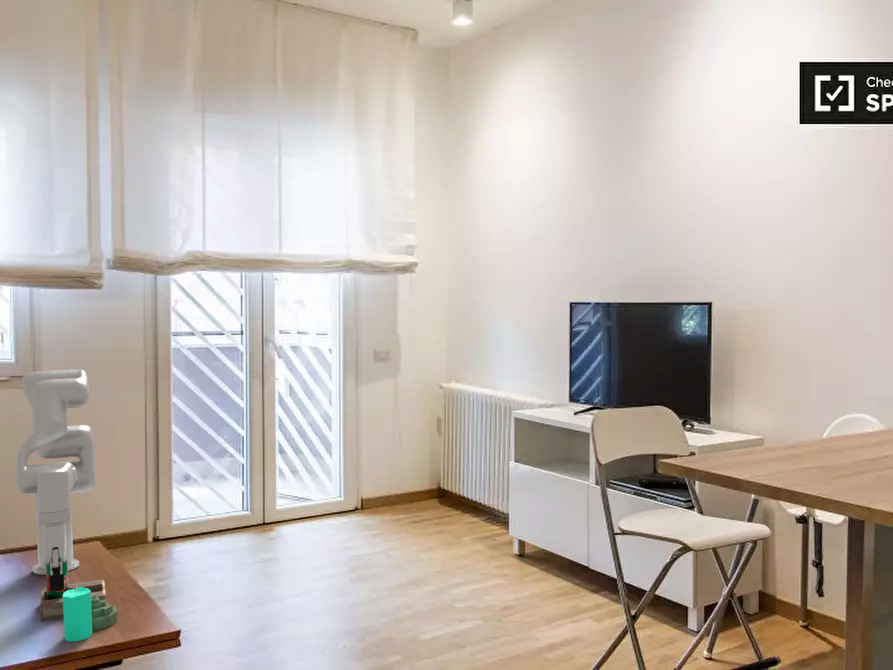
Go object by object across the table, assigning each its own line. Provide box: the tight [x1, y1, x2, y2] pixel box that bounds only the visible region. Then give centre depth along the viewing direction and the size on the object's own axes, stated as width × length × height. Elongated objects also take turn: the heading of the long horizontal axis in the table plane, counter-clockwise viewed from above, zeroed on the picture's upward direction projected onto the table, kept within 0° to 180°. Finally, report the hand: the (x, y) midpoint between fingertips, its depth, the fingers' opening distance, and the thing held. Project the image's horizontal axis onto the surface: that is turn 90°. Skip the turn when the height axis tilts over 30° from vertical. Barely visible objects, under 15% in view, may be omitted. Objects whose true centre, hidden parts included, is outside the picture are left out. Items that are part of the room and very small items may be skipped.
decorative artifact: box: [91, 595, 119, 631], centre depth 198 cm, size 10×7×10 cm
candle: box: [63, 586, 93, 642], centre depth 190 cm, size 6×6×12 cm
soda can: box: [45, 556, 70, 600], centre depth 208 cm, size 5×5×12 cm
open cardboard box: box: [39, 579, 107, 622], centre depth 209 cm, size 14×15×4 cm
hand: (57, 586), depth 208 cm, fingers closed on soda can, 5 cm apart
